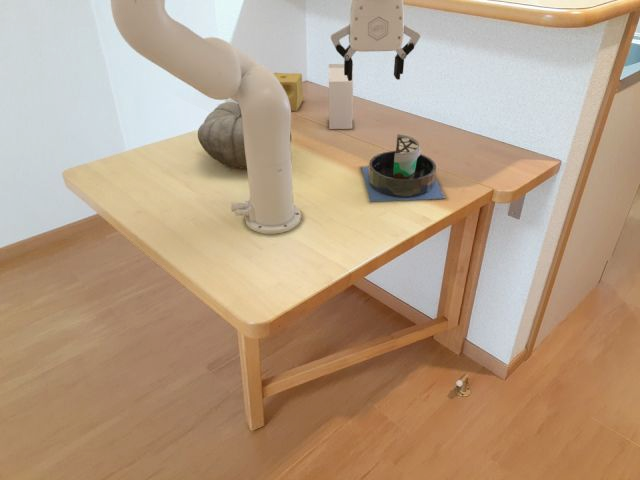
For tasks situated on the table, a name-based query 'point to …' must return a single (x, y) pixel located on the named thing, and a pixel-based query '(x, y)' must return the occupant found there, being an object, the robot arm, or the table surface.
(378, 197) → the napkin
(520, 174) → the table surface
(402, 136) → the food container
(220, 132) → the gourd
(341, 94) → the milk carton
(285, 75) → the cheese
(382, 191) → the pan
